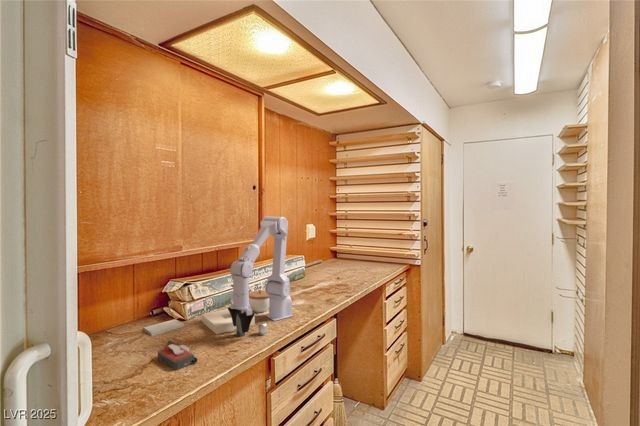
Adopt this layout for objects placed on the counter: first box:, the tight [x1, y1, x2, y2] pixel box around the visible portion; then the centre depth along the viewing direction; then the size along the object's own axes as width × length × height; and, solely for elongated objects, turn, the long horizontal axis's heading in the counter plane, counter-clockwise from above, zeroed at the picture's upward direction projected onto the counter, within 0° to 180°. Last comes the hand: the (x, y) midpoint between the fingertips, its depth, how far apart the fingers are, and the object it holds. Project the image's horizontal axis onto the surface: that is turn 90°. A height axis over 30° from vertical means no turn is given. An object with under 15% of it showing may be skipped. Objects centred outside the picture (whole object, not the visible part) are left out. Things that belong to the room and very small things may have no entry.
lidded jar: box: [249, 289, 269, 313], centre depth 147 cm, size 11×11×9 cm
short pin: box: [257, 321, 268, 337], centre depth 121 cm, size 3×3×4 cm
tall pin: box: [235, 313, 246, 338], centre depth 120 cm, size 3×3×8 cm
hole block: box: [201, 308, 256, 335], centre depth 131 cm, size 16×16×3 cm
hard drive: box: [142, 318, 185, 337], centre depth 125 cm, size 2×8×12 cm
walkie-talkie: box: [157, 339, 198, 371], centre depth 103 cm, size 9×4×20 cm
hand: (240, 328), depth 120 cm, fingers open, 7 cm apart
